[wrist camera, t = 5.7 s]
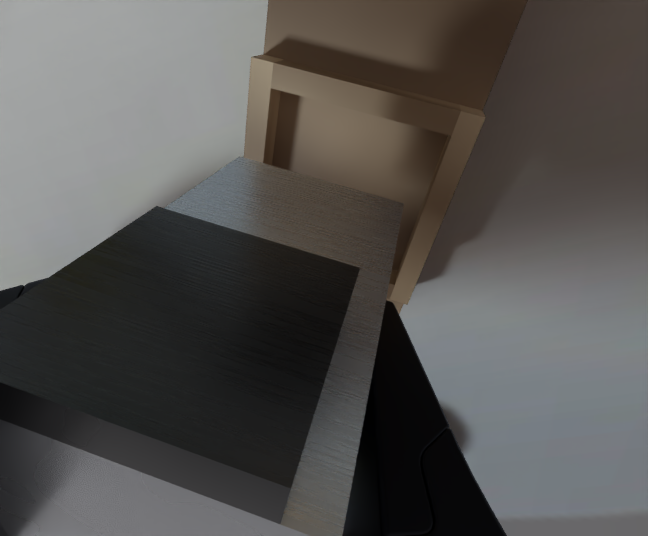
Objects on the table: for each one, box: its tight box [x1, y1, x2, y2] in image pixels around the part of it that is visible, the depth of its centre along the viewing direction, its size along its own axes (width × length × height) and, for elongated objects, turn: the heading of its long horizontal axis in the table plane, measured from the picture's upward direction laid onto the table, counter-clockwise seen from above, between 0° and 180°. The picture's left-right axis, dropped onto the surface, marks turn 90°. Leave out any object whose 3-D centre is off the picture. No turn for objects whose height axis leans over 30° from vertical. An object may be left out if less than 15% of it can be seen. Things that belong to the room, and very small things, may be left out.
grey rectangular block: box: [0, 156, 404, 536], centre depth 7 cm, size 4×5×7 cm
